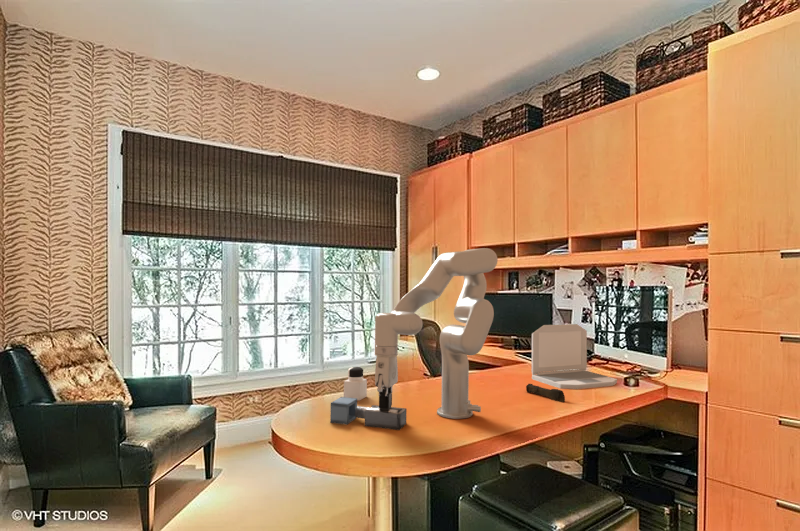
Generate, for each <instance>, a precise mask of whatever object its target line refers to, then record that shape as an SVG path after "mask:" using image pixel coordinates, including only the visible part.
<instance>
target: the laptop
mask: <svg viewBox="0 0 800 531" xmlns="http://www.w3.org/2000/svg"><path fill="white" fill-rule="evenodd" d="M587 331H588V330H586V329H585V328H583V327H582V326H581V325H579V324H578V323H571V324H566V323H565V324H543V325H542V326H540V327H539V328H538V329H536V330H535V331H534V332H532V333H531V379H532V380H533V381H536V382H539V383H543V384H545V385H548V386H551V387H555V388H556V389H560V390H561V389H562V390H563V389H567V390H582V389H593V388H604V387H605V388H606V387H611V386H612V387H613V386H614V385H616V384H617V382H618V378H614V377H611V376H608V375H605V374H600V373H596V372H593V371H589V370H587V368H588V367H587V366H588V364H587V362H588V361H587V360H588V357H587V356H588V355H587V354H588V353H587V352H588V351H587V349H588V347H587V344H588V343H587V342H588V339H587V338H588V336H587V334H588V333H587Z"/></svg>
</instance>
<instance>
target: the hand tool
mask: <svg viewBox="0 0 800 531" xmlns="http://www.w3.org/2000/svg"><path fill="white" fill-rule="evenodd" d="M525 390H526V392H527V393H529V394H535V395H539V396H542V397H546V398H549V399H550V400H551V401H554V402H559V403H560V402H561V403H565V401H566V399H565V398H566V397H565V393H564V391H563V390H561V389H559V388H551V389H550V388H545V387H541V386H539V385H535V384H533V383H528V384H526V386H525Z"/></svg>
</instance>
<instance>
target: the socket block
mask: <svg viewBox="0 0 800 531" xmlns="http://www.w3.org/2000/svg"><path fill="white" fill-rule="evenodd" d="M357 406H358V400H357V398H347V397H344V396H340V397H339V398H337V399H335V400H333V401H331V402H330V417H329V418H330V420H329V422H330V424H338V425H339V424H340V425H348V424H350V423H351V422H353V421H354V420H355V419H357V418H356V417H355V410H356V407H357Z"/></svg>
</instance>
